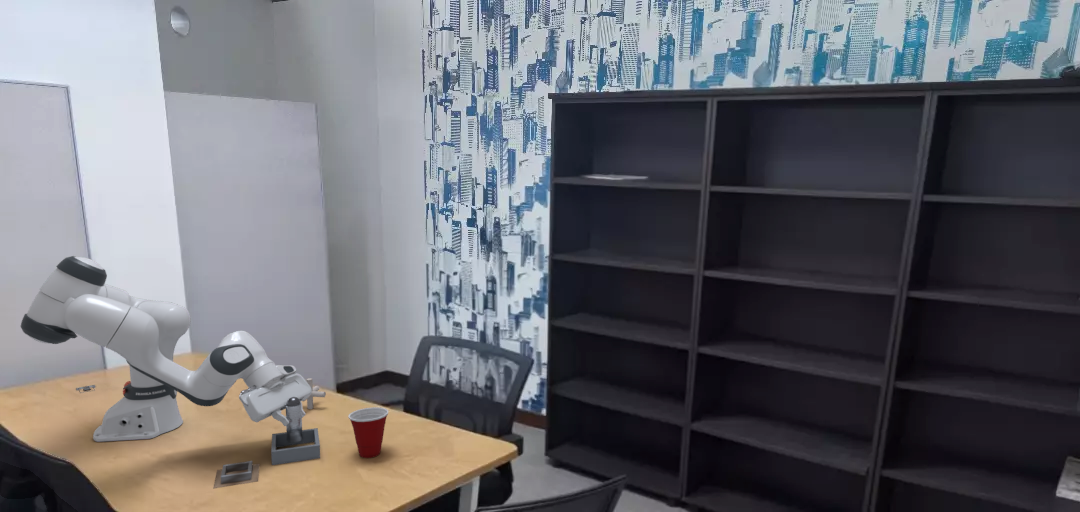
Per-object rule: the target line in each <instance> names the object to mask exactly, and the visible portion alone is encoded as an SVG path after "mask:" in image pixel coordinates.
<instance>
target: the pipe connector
mask: <svg viewBox="0 0 1080 512" xmlns="http://www.w3.org/2000/svg"><path fill="white" fill-rule="evenodd" d="M305 380H306V381H307V383H308V384H309V385H310V387H311V389H312V393H311V394H310V395H309V397H308V398H306V399H305V400H303V401H302V402H305V401H306V406H307V410H312V409H314V398H326V395H327V394H326V391H322V390H321V391H319V390H320V386H319V385H315V386H313V378H311V377H309V378H306V379H305Z"/></svg>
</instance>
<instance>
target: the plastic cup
mask: <svg viewBox="0 0 1080 512" xmlns="http://www.w3.org/2000/svg"><path fill="white" fill-rule="evenodd" d="M388 415H389V409H388V408H384V407H366V408H365V407H364V408H361V409H360V408H359V409H357V410H354V411H352V412H351V413H349V414H348V416H347V417H348V420H350V422H351V426H352V430H353V434H354V439H355V443H356V446H357V452H358V455H359V456H360V457H361V458H364V459H371V458H375V457H377V456H379V455H380V454H381V451H382V444H383V440H384V432H385V427H386V420H387V417H388Z"/></svg>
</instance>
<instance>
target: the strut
mask: <svg viewBox="0 0 1080 512" xmlns="http://www.w3.org/2000/svg"><path fill="white" fill-rule="evenodd" d="M301 402H302V401H301ZM301 402H300V400H299V398H297V397H291V398H289V399H288V400H287V403H286V409H285V417H288V416H289V418H290V419H291V420H292V422H291V423H290V424H289V425H287V426H285V428H286V432H287V442H291V443H293V442H298V441H301V440H302V439H303V438H302V430H303V417H302V408H303V407H302V408H301Z"/></svg>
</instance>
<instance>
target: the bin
mask: <svg viewBox="0 0 1080 512" xmlns="http://www.w3.org/2000/svg"><path fill="white" fill-rule="evenodd" d="M302 438H303V439H302V440H301V441H298V442H293V443H291V442H287V431H286V432H285V431H283V432H277V433H272V435H271V447H270V449H271V452H270V453H271V454H270V455H271V466H275V465H282V464H289V463H290V464H291V463H296V462H303V461H309V460H310V461H311V460H315V459H316V460H317V459H318V460H319V459H321V444H320V437H319V429H318V427H317V428H316V427H315V428H308V429H307V428H306V429H302ZM309 443H314V444H309ZM301 444H302V446H296V445H301ZM304 444H306V445H304ZM307 444H308V445H307ZM287 446H289V447H287ZM290 446H292V447H290ZM293 446H295V447H293ZM282 447H287V448H282ZM277 448H279V449H277Z"/></svg>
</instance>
